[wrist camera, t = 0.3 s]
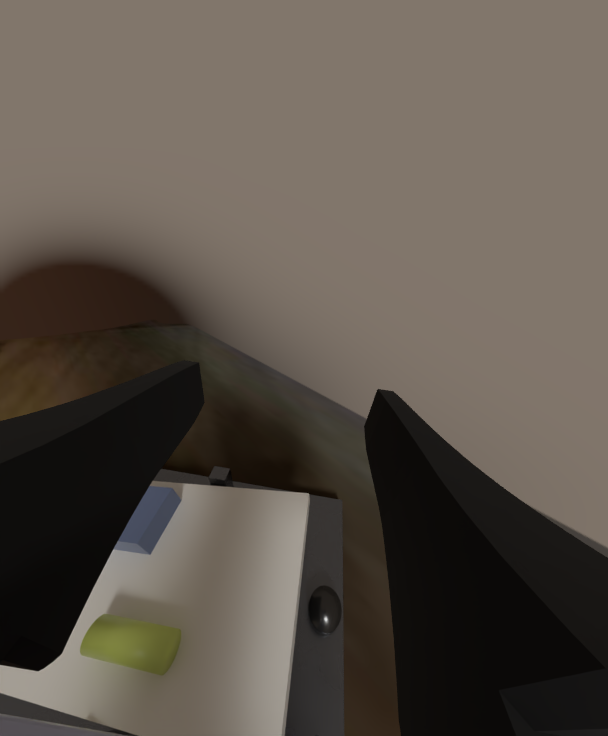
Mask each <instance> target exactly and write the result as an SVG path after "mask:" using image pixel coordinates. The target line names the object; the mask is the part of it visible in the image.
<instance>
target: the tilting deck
mask: <svg viewBox="0 0 608 736" xmlns="http://www.w3.org/2000/svg"><path fill="white" fill-rule="evenodd" d="M309 505H310V496H309V493H298V492H285V491H273V490H260V489H248V488H235V487H223V486H210V485H198V484H185V483H173V482H160V481H152V483H151V484H150V486H149V488H148V489H147V491H146V493H145V494H144V496H143V498H142V499H141V501H140V503H139V505H138V506H137V508H136V510H135V511H134V513H133V515H132V517H131V518H130V520H129V522H128V524H127V526H126V527H125V529H124V531H123V533H122V535H121V536H120V538H119V540H118V542H117V544H116V545H115V547H114V549H113V551H112V553H111V555H110V557H109V559H108V561H107V563H106V565H105V567H104V568H103V570H102V572H101V574H100V576H99V578H98V580H97V582H96V584H95V586H94V588H93V590H92V592H91V594H90V596H89V598H88V600H87V602H86V604H85V606H84V608H83V610H82V612H81V615H80V617H79V619H78V621H77V623H76V625H75V627H74V629H73V631H72V633H71V635H70V637H69V640H68V642H67V644H66V646H65V648H64V650H63V653H62V654H61V655H60V656H59V657H58V658H57V659H56V660H55V661H53V662H52V663H51V664H49V665H48V666H47V667H45V668H44V669H42V670H40V671H33V670H27V669H21V668H15V667H9V666H3V665H0V693H2V694H5V695H8V696H12V697H15V698H18V699H21V700H25V701H28V702H31V703H34V704H38V705H41V706H44V707H47V708H50V709H54V710H57V711H60V712H63V713H67V714H70V715H73V716H76V717H80V718H83V719H86V720H89V721H92V722H96V723H99V724H102V725H105V726H109V727H112V728H115V729H118V730H122V731H125V732H128V733H131V734H134V735H138V736H285V728H286V718H287V709H288V700H289V691H290V681H291V672H292V663H293V653H294V644H295V635H296V626H297V616H298V607H299V598H300V588H301V579H302V570H303V561H304V551H305V542H306V533H307V523H308V514H309Z"/></svg>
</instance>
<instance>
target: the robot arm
mask: <svg viewBox="0 0 608 736" xmlns="http://www.w3.org/2000/svg"><path fill="white" fill-rule="evenodd" d="M203 404H204V395H203V388H202V381H201V374H200V367H199V363H198V362H191V361H185V360H184V361H180V362H177V363H174V364H171V365H169V366H166V367H163V368H161V369H158V370H156V371H153V372H150V373H148V374H145V375H143V376H140V377H138V378H135V379H133V380H130V381H127V382H125V383H122V384H119V385H117V386H114V387H111V388H108V389H106V390H103V391H100V392H97V393H94V394H92V395H89V396H86V397H83V398H80V399H77V400H74V401H71V402H68V403H64V404H61V405H58V406H54V407H51V408H48V409H44V410H41V411H38V412H34V413H30V414H27V415H23V416H19V417H15V418H11V419H7V420H3V421H0V665H3V666H9V667H15V668H21V669H27V670H33V671H40V670H42V669H44V668H45V667H47V666H48V665H49V664H51V663H52V662H53V661H55V660H56V659H57V658H58V657H59V656H60V655H61V654H62V653H63V650H64V648H65V646H66V644H67V642H68V640H69V637H70V635H71V633H72V631H73V629H74V627H75V625H76V623H77V621H78V619H79V617H80V615H81V612H82V610H83V608H84V606H85V604H86V602H87V600H88V598H89V596H90V594H91V592H92V590H93V588H94V586H95V584H96V582H97V580H98V578H99V576H100V574H101V572H102V570H103V568H104V567H105V565H106V563H107V561H108V559H109V557H110V555H111V553H112V551H113V549H114V547H115V545H116V544H117V542H118V540H119V538H120V536H121V535H122V533H123V531H124V529H125V527H126V526H127V524H128V522H129V520H130V518H131V517H132V515H133V513H134V511H135V510H136V508H137V506H138V505H139V503H140V501H141V499H142V498H143V496H144V494H145V493H146V491H147V489H148V488H149V486H150V484H151V483H152V481H153V480H154V478H155V477H156V475H157V474H158V472H159V471H160V470H161V468H162V467H163V465H164V464H165V463H166V461H167V460H168V459H169V457H170V456H171V454H172V453H173V452H174V450H175V449H176V447H177V446H178V445H179V443H180V442H181V441H182V439H183V438H184V436H185V435H186V434H187V432H188V431H189V429H190V428H191V426H192V425H193V423H194V422H195V420H196V418H197V416H198V414H199V412H200V410H201V408H202V406H203ZM364 429H365V441H366V451H367V455H368V460H369V465H370V469H371V474H372V478H373V483H374V487H375V492H376V496H377V501H378V505H379V510H380V516H381V521H382V529H383V537H384V545H385V552H386V561H387V571H388V580H389V589H390V600H391V611H392V623H393V634H394V648H395V663H396V678H397V693H398V713H399V724H400V730H401V736H608V558H607V557H605V556H604V555H602V554H601V553H599V552H597V551H596V550H594V549H593V548H591V547H589V546H588V545H586V544H585V543H583V542H582V541H580V540H578V539H577V538H575V537H574V536H572V535H571V534H569V533H568V532H566V531H565V530H563V529H562V528H560V527H559V526H557V525H556V524H554V523H553V522H551V521H550V520H548V519H547V518H545V517H544V516H543V515H541V514H540V513H538V512H537V511H535V510H534V509H532V508H531V507H530V506H528V505H527V504H525V503H524V502H522V501H521V500H520V499H518V498H517V497H515V496H514V495H513V494H511V493H510V492H508V491H507V490H506V489H504V488H503V487H502V486H500V485H499V484H498V483H496V482H495V481H494V480H492V479H491V478H490V477H489V476H487V475H486V474H485V473H483V472H482V471H481V470H480V469H478V468H477V467H476V466H474V465H473V464H472V463H471V462H470V461H468V460H467V459H466V458H465V457H463V456H462V455H461V454H460V453H459V452H458V451H457V450H455V449H454V448H453V447H452V446H451V445H450V444H448V443H447V442H446V441H445V440H444V439H443V438H442V437H441V436H440V435H439V434H437V433H436V432H435V431H434V430H433V429H432V428H431V427H430V426H429V425H428V424H427V423H426V422H425V421H424V420H423V419H422V418H420V417H419V416H418V415H417V413H415V412H414V411H413V410H412V409H411V408H410V407H409V406H408V405H407V404H406V403H405V402H404V401H403V400H402V399H401V398H400V397H399V396H398V395H397V394H396V393H394V392H393V391H388V390H381V389H378V390H377V392H376V395H375V398H374V401H373V404H372V406H371V409H370V412H369V415H368V418H367V420H366V423H365V426H364ZM0 736H127V735H121V734H116V733H110V732H104V731H98V730H92V729H87V728H81V727H75V726H69V725H64V724H58V723H52V722H46V721H40V720H35V719H29V718H23V717H17V716H12V715H6V714H0Z"/></svg>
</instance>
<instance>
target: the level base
mask: <svg viewBox="0 0 608 736" xmlns="http://www.w3.org/2000/svg"><path fill="white" fill-rule="evenodd" d="M153 481H160V482H173V483H185V484H198V485H210V486H223V487H235V488H248V489H260V490H273V491H285V492H292V491H287V490H281V489H275V488H269V487H264V486H258V485H252V484H246V483H241V482H235V481H232V476H231V471H230V469H229V468H223V467H217V466H214V468H213V470H212V472H211V474H210V476H209V477H206V476H200V475H194V474H189V473H183V472H177V471H171V470H166V469H161V470H160V471H159V472H158V474H157V475H156V477H155V478H154V480H153ZM309 496H310V505H309V514H308V523H307V533H306V542H305V551H304V561H303V570H302V579H301V588H300V598H299V607H298V616H297V626H296V635H295V644H294V653H293V663H292V672H291V681H290V691H289V700H288V709H287V718H286V728H285V736H344V661H343V540H342V500H339V499H333V498H327V497H321V496H316V495H310V494H309ZM0 714H6V715H12V716H17V717H23V718H29V719H35V720H40V721H46V722H52V723H58V724H64V725H69V726H75V727H81V728H87V729H92V730H98V731H104V732H110V733H116V734H121V735H127V736H138V735H134V734H131V733H128V732H125V731H122V730H118V729H115V728H112V727H109V726H105V725H102V724H99V723H96V722H92V721H89V720H86V719H83V718H80V717H76V716H73V715H70V714H67V713H63V712H60V711H57V710H54V709H50V708H47V707H44V706H41V705H38V704H34V703H31V702H28V701H25V700H21V699H18V698H15V697H12V696H8V695H5V694H2V693H0Z"/></svg>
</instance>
